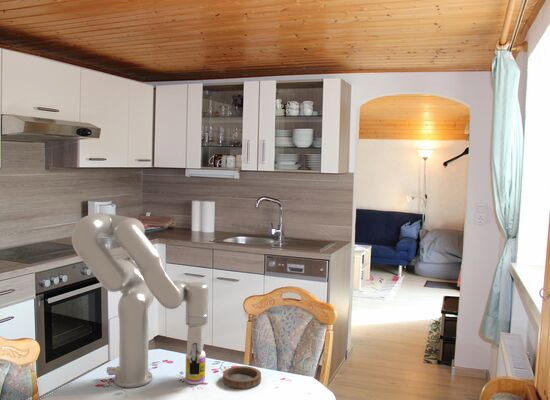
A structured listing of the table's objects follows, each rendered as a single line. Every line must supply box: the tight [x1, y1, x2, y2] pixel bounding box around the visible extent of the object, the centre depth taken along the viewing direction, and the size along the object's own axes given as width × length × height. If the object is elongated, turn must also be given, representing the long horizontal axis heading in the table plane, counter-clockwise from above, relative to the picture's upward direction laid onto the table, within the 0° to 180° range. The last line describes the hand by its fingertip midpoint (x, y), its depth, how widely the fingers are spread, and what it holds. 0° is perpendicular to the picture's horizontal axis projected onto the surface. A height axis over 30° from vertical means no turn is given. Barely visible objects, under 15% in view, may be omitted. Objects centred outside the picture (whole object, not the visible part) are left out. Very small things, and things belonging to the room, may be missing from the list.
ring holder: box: [222, 365, 262, 390], centre depth 172 cm, size 13×13×3 cm
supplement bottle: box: [184, 350, 206, 385], centre depth 171 cm, size 7×7×13 cm
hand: (196, 368), depth 171 cm, fingers open, 9 cm apart
